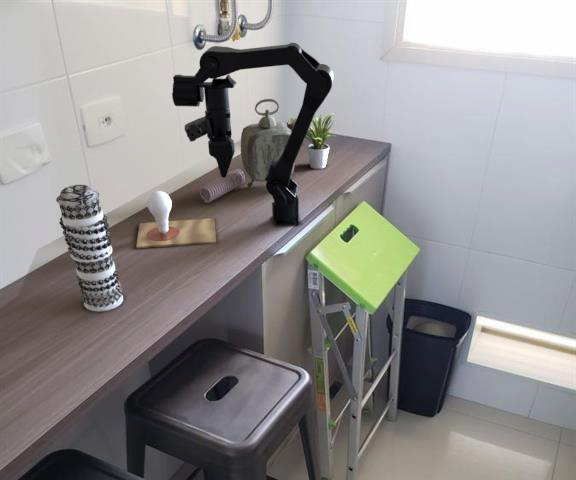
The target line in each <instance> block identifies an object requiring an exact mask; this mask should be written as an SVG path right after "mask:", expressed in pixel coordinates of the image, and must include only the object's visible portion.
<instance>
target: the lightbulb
mask: <svg viewBox="0 0 576 480" xmlns="http://www.w3.org/2000/svg"><path fill="white" fill-rule="evenodd" d="M146 206H147V209H148V211H149V212H150V214H151V215H152V216H153V217H154V220H155V222H156V224H157V225H158V229H159V232H161V233H163V234H164V233H166V232H168V222H169V221H170V220H169V217H170V213H171V210H172V207H173V202H172V199H171V197H170V195H169V194H168V193H166V192H164V191H161V190H156V191H153V192H151V193H150V194H149V195H148V197H147V200H146Z"/></svg>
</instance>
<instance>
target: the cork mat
mask: <svg viewBox="0 0 576 480" xmlns="http://www.w3.org/2000/svg"><path fill="white" fill-rule="evenodd" d="M168 221H169V222H168V232H166V233H164V234H163V233H161V232H159V229H158V225H157V224H156V221H153V222H140V223H139V225H138V231H137V238H136V246H135V248H136V249H147V248H148V249H149V248H160V247H162V248H163V247H175V246H189V245H191V246H192V245H203V244H217V238H216V226H215V217H214V218H213V217H211V218H197V219H196V218H195V219H183V220H182V219H181V220H168Z"/></svg>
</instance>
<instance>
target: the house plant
mask: <svg viewBox="0 0 576 480" xmlns="http://www.w3.org/2000/svg"><path fill="white" fill-rule="evenodd" d="M335 114H336V112H332V113H331V114H328V115H326V116H325V117H324V118H323V120H322V114H320V115H319V118H318V117H316V116H315V115H314V117H313V120H312V122H311V123H312V124H313V126H312V125H311V124H310V127H309V129H308V131H307V134H306V136H305V139H307V140H308V141H309V144H308V145H307V146H306V147H307V153H308V160H309V167H310V168H311V169H315V170H322V169H325V168H326V166H327V163H328V158H329V157H328V156H329V152H330V145H329V144H327V143H326V141H327V140H328V139H329V138H332V137H333V135H330V134H329V133H332V131H330V129H331V128H332V127H333V126H334V122H335V121H336V119H334V120H333V117H334V115H335ZM332 120H333V122H332ZM313 127H314V128H313ZM335 137H336V138H338V136H337V135H335Z"/></svg>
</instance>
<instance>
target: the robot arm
mask: <svg viewBox="0 0 576 480" xmlns="http://www.w3.org/2000/svg"><path fill="white" fill-rule="evenodd" d="M280 66H289V67H290V69H292V70H293V71H294V72H295V74H296V75H297V76H298V77H299V78H300V79H301V80H302V82H304V83H305V84H306V86H305V89H304V93H303V94H304V95H303V100H302V103H301V104H302V105H301V107H300V109H299V111H298V115H297V117H296V121H295V124H294V126H293V129H292V131H291V134H290V136H289V139H288V141H287V144H286V146H285V148H284V151H283V153H282V155H281V157H280V158H279V159H278V160H277V159H275V158H273V160H272V162H271V165H270V169H269V170H268V172H267V174H266V177H265V180H267V181H265V189H266V192H268V194H269V195H271V197H272V199H273V202H271V215H272V216H271V217H272V220H273V222H274V224H275V226H291V225H300V224H301V222H300V218H299V216H300V215H299V201H300V200H299V197H298V195H297V193H298V190H299V184H298V183H297V182H296V181H295V180H294V179H293V178H292V175H293V173H292V170H293V166H294V162H295V163H296V160H297V157H298V155H299V153H300V150H301V147H302V145H303V144H304V141H305V139H306V138H305V136H307V135H306V134H307V132H309V130H310V129H309V127H310V125H311V124H312V123H313V122H312V120H313V117H314V116H315V115H316V113H317V111H318V109H319V108H320V107H321V106H322V104H323V103H324V101H325V100H326V98H327V97H328V95H329V93H330V92H331V90H332V87H333V83H334V79H335V78H334V75H335V74H334V72H333V70H332V69H331V67H330V66H329V65H327V64H325V63H320V61H318V60H317V59H316V58H315V57H313V56H312V55H311V54H309V53H308V52H306V51H305V50H304V49H303V48H302V47H301V46H300V45H299V44H298V43H296V42H289V43H287V44H278V45H270V46H269V45H268V46H261V47H252V48H251V47H250V48H242V49H240V48H233V47H229V46H219V45H214V46H210V47H208V49H207V50H206V51H204V52H203V53H202V54H201V56H200V59H199V68H198V70H197V72H196V73H195V74H194V75H183V74H174V75H173V78H172V81H173V83H172V93H171V97H172V102H173V105H174V106H175V107H195V108H196V107H197V108H198V107H200V104H201V103H203V102H205V110H204V116H201V117H198V118H197V119H196V118H195V119H194V120H191V121H190V122H187V123H186V124H185V125H184V131H185V133H186V136H187V138H188V140H189V142H191V143H193V142H195V141H196V140H197V139H200V138H202V137H204V136H207V137H206V138H207V139H208V141H207V144H208V146H207V147H208V155H210V157H213V158H214V159H215V160H216V163H217V167H218V170H219V174H220V177H222V178H224V177H226V175H227V173H229V169H230V165H231V163H232V160H233V158H234V155H235V152H236V149H235V140H234V139H233V138H232V134H233V133H232V125H231V111H230V110H231V109H230V95H229V89H233V88H234V87H235V86H236V85H237V81H236V80H234V78H232V77H231V75H230V74H232V73H235V72H238V71H242V70H251V69H262V68H270V67H280ZM225 76H226V77H225ZM222 77H225V78H222ZM208 79H212V80H211V81H207V80H208ZM310 128H311V127H310ZM304 138H305V139H304ZM294 167H295V166H294ZM293 171H294V170H293Z"/></svg>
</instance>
